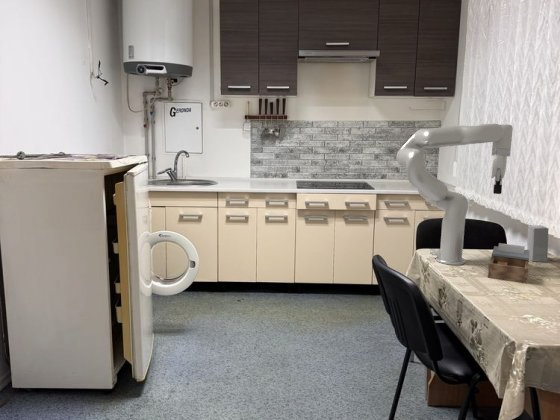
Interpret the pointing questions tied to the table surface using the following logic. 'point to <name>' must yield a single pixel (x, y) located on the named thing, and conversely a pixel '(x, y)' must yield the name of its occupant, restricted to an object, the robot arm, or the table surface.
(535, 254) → the skincare box
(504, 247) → the cover
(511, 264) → the box
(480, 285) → the table surface
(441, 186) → the robot arm
